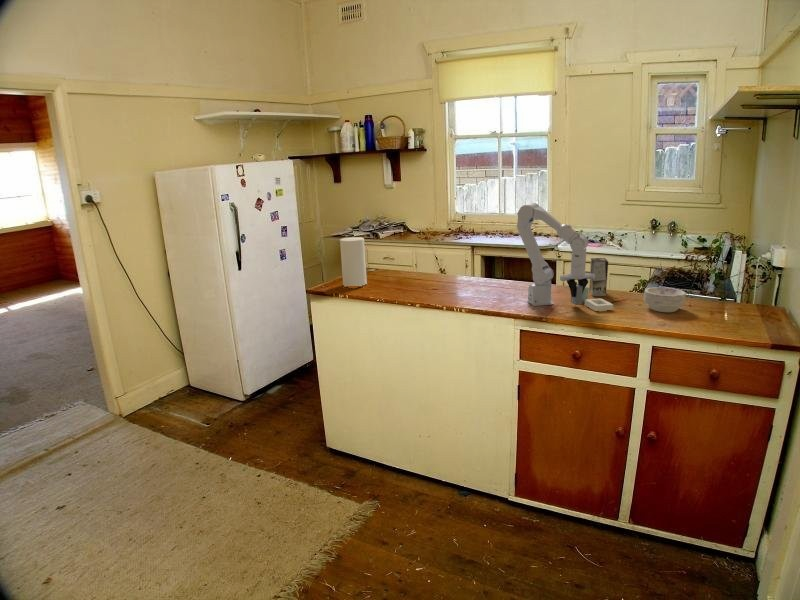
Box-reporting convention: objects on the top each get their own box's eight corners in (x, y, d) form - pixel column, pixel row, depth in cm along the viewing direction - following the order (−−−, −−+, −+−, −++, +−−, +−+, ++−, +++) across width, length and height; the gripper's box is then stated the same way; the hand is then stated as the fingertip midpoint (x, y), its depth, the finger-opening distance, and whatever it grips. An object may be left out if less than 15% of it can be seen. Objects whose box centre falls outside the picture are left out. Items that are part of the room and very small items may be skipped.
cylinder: (368, 287, 273) (365, 239, 266) (344, 289, 270) (341, 241, 263) (364, 282, 284) (361, 236, 278) (341, 284, 282) (338, 238, 275)
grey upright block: (579, 302, 231) (580, 289, 229) (574, 299, 235) (575, 286, 234) (589, 301, 231) (589, 288, 230) (584, 299, 236) (585, 286, 234)
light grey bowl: (677, 304, 222) (679, 286, 220) (689, 315, 207) (691, 296, 205) (639, 304, 225) (640, 286, 223) (647, 314, 211) (649, 295, 208)
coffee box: (606, 296, 238) (608, 261, 234) (591, 296, 240) (593, 261, 235) (603, 291, 247) (605, 257, 243) (588, 291, 248) (590, 257, 244)
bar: (575, 305, 221) (577, 286, 219) (570, 301, 226) (571, 283, 223) (581, 304, 221) (582, 286, 219) (576, 301, 226) (577, 283, 224)
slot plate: (595, 311, 217) (596, 305, 216) (584, 305, 226) (584, 299, 226) (612, 310, 218) (613, 304, 217) (600, 303, 227) (601, 298, 226)
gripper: (565, 267, 214) (564, 299, 218) (599, 265, 216) (597, 297, 220) (558, 264, 221) (557, 295, 225) (591, 262, 223) (589, 293, 226)
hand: (576, 296), depth 223 cm, fingers closed on bar, 2 cm apart
